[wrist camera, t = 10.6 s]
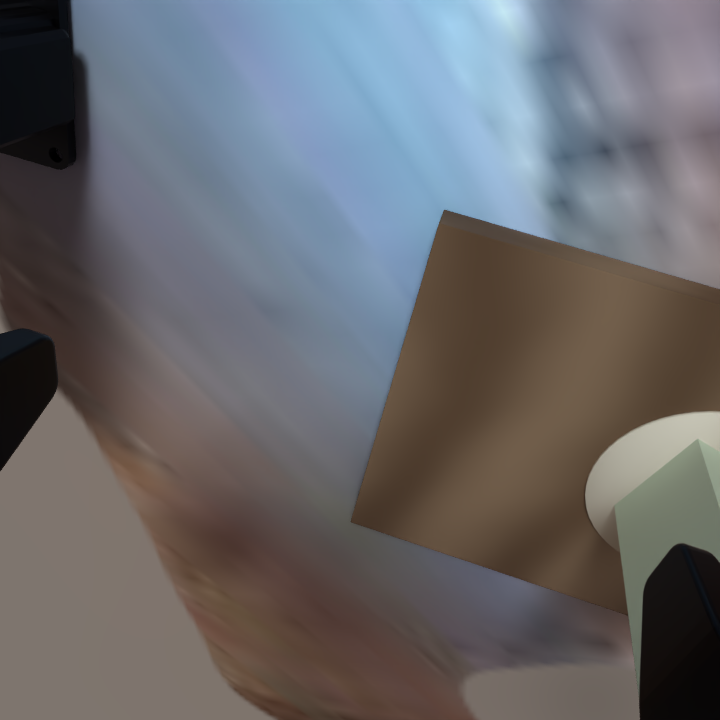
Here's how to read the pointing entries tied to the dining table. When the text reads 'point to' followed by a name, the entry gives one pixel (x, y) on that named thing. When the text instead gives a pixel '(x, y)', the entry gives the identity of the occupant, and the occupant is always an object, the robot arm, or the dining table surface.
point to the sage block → (667, 522)
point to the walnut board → (538, 405)
